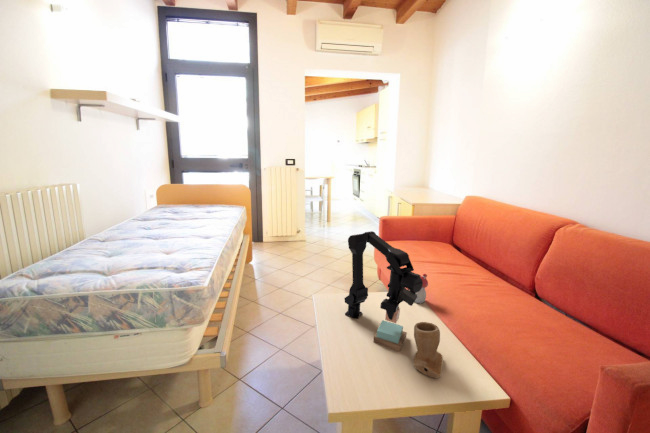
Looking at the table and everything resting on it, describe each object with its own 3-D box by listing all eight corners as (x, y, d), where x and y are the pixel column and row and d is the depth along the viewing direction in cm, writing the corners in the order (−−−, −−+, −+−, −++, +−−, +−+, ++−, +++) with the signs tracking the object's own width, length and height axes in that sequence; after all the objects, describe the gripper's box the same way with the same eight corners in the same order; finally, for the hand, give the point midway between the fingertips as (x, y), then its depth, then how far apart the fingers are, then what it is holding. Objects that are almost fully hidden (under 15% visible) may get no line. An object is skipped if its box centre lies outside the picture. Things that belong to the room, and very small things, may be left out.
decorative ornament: (421, 296, 169) (425, 271, 166) (429, 302, 164) (433, 276, 160) (407, 299, 166) (411, 273, 163) (415, 305, 160) (419, 278, 157)
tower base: (381, 330, 137) (382, 324, 136) (405, 338, 132) (406, 332, 131) (373, 343, 127) (373, 336, 126) (399, 352, 122) (400, 346, 121)
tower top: (381, 326, 134) (382, 320, 134) (402, 332, 131) (403, 326, 130) (376, 337, 126) (377, 330, 126) (398, 343, 123) (398, 337, 122)
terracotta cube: (388, 314, 130) (389, 305, 129) (398, 318, 128) (400, 308, 127) (385, 319, 126) (386, 310, 125) (395, 323, 124) (397, 313, 123)
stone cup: (413, 347, 125) (417, 314, 122) (443, 357, 120) (449, 323, 117) (405, 370, 112) (410, 333, 108) (439, 382, 107) (445, 345, 103)
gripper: (411, 296, 112) (406, 334, 115) (421, 279, 128) (416, 312, 131) (382, 288, 117) (377, 325, 120) (395, 272, 133) (391, 305, 136)
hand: (392, 316), depth 127 cm, fingers closed on terracotta cube, 4 cm apart
